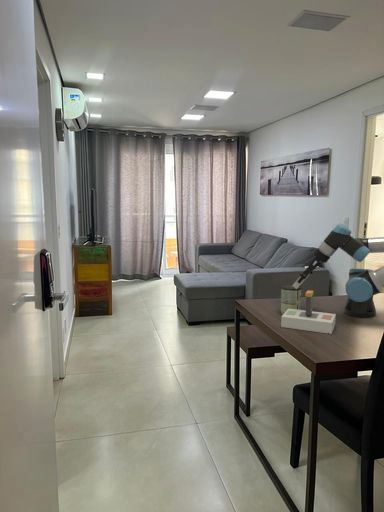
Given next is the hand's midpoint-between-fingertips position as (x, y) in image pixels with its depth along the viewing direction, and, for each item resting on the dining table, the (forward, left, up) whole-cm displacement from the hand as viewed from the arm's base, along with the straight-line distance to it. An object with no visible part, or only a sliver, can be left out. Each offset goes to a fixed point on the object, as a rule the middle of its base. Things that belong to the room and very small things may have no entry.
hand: (297, 284), depth 194 cm
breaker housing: (-9, +17, -15) cm, 24 cm away
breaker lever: (-9, +17, -10) cm, 21 cm away
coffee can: (+3, 0, -16) cm, 16 cm away
